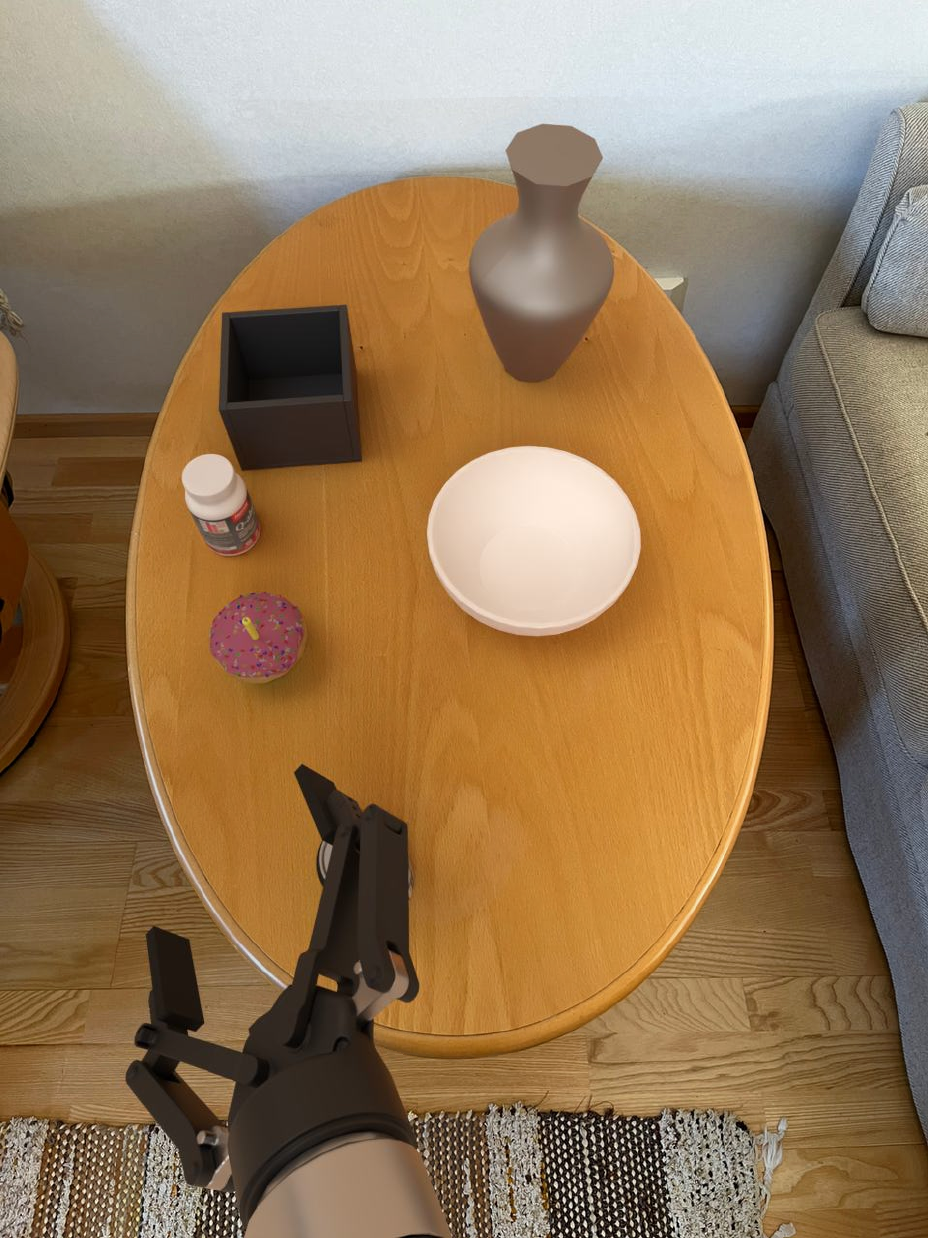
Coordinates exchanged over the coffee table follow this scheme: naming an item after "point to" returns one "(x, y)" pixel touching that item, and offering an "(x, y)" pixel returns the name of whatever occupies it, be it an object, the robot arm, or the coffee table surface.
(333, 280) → the coffee table surface
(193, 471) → the pill bottle
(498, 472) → the bowl
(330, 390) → the trash bin
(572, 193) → the vase
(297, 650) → the cupcake
